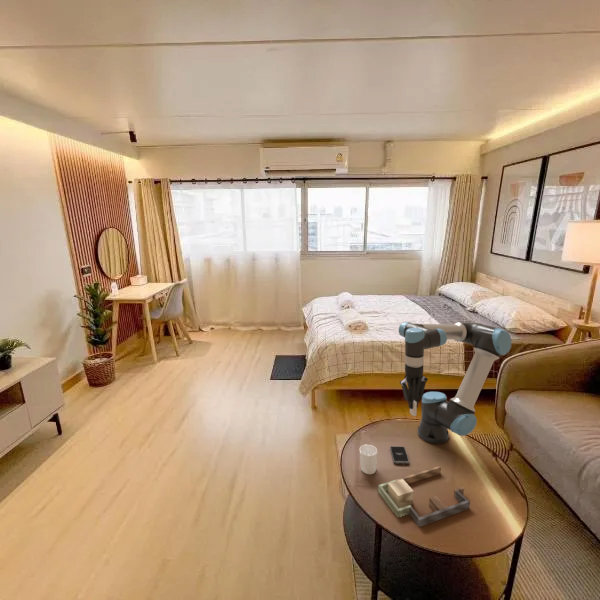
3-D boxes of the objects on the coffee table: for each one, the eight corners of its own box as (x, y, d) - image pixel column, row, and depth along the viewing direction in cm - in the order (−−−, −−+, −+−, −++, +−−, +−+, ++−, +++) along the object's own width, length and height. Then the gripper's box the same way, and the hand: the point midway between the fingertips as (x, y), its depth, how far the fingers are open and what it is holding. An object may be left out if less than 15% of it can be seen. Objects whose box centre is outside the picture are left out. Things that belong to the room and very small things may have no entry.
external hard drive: (393, 465, 151) (393, 461, 151) (389, 449, 162) (390, 446, 162) (409, 465, 150) (409, 461, 150) (404, 450, 161) (404, 446, 161)
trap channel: (438, 471, 145) (439, 466, 144) (475, 506, 126) (476, 499, 126) (378, 491, 136) (378, 485, 135) (407, 531, 117) (407, 524, 116)
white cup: (366, 461, 154) (366, 442, 152) (380, 468, 149) (380, 449, 147) (356, 469, 149) (356, 450, 147) (371, 478, 143) (370, 458, 141)
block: (402, 491, 135) (402, 478, 134) (413, 504, 129) (413, 490, 128) (388, 496, 133) (388, 483, 132) (398, 509, 127) (398, 496, 126)
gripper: (421, 358, 145) (419, 407, 149) (395, 363, 141) (395, 413, 145) (432, 364, 138) (431, 415, 142) (406, 370, 134) (405, 422, 138)
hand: (413, 414), depth 144 cm, fingers closed
